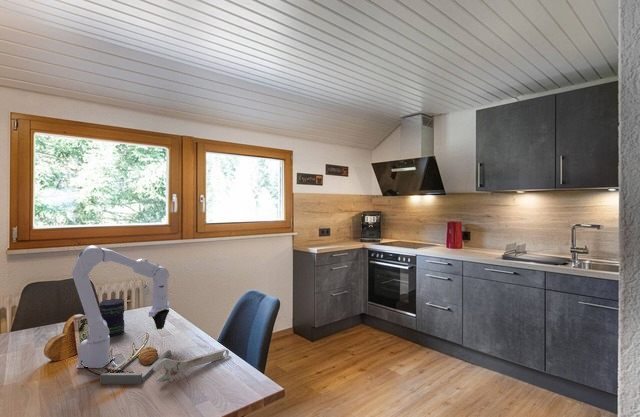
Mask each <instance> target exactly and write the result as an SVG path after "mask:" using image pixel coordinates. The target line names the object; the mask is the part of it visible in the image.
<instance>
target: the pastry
mask: <svg viewBox="0 0 640 417" xmlns="http://www.w3.org/2000/svg"><path fill="white" fill-rule="evenodd" d="M137 357H138V362H140V364H141V365H145V366H147V365H150V364H154V363H155V362H156V361H157V360H158V357H159V354H158V350H157V349H156V348H154V347H152V346H148V347H145V348H143V349H142V350H141V352H140V354H139V356H137Z"/></svg>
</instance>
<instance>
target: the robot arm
mask: <svg viewBox="0 0 640 417" xmlns="http://www.w3.org/2000/svg"><path fill="white" fill-rule="evenodd" d="M101 262H103V263H107V262H114V263H117V264H120V265H123V266H126V267H129V268H132V270H133V273H135V274H138V275H141V276H143V277H147V278H148V279H149V278H152V295H151V296H152V298H151V299H152V305H151V306H152V307H151V308H150V310H149V311H148V317H151V318H152V320H153V321H154V324H155V329H156V330H162V329H164V328H165V324H166V320H167V317H168V314H169V312H170V308H171V301H170V300H169V299H168V298H169V296H168V295H169V292H168V291H169V289H168V288H169V287H168V279H169V278H170V272H169V270H168V269H167V268H165V267H164V266H163V265H160V264H159V263H153V262H151V261H149V259H147V258H139V259H134V258H132V257H128V256H126V255H124V254H122V253H119V252H117V251H115V250H112V249H109V248H105V247H99V246H98V245H94V244H92V245H88V246H85V247H84V248H83V249H82V250H81V251H80V252H79V253H78V256H77V259H76V261H75V263H74V266H73V268H72V270H71V276H72V279H73V281H74V285H75V288H76V291H77V294H78V296H79V301H80V303H81V306H82V308H83V311H84V314H85V317H86V320H87V331H88V338H86V339H84V340H82V341H81V342H80V344H79V346H78V349H77V350H78V352H77V353H78V354H77V356H78V358H77V362H78V365H76V368H78V369H81V368H82V369H85V368H84V367H82V366H81V364H80V363H83V364H84V365H85V366H87V367H88V368H87V369H92V368H93V369H102V368H104V367H106V366H107V365H108V364H109V363H111V362H110V359H109V353H110V352H111V347H110V346H111V345H110V344H111V343H110V342H111V338H110V336H109V328H108V327H107V322H106V321H105V320H104V319H103V318H102V316H101V313H100V310H99V309H100V306H99V305H98V302H97V298H96V295H95V292H94V290H93V286H92V283H91V279H90V278H89V274H90V272H92V269H94V267H96V266H97V265H99V264H100V263H101ZM110 354H111V353H110ZM112 357H113V360H115V359H116V357H115V356H112Z"/></svg>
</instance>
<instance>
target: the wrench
mask: <svg viewBox="0 0 640 417" xmlns="http://www.w3.org/2000/svg"><path fill="white" fill-rule="evenodd" d="M229 353H230V352H229V349H226V348H222V349H219V350H216V351H211V352H208V353H205V354H202V355H198V356H195V357H191V358H188V359H187V358H186V359H184V360H176V359H175V360H174V359H170V358H168V357H167V358H163V359H161V360H159V361H158V362H157V363H156V364H155V365H154V367H153V372H157V371H158V370H160V369H161V368H164V371H163V373H162V374H160V375H158V376H157V377H156V378H155V381H157V382H160V383H162V382H163V383H164V382H167V381H168V382H170V383H171V382H173V381H174V379H175V378H176V376H178V375H179V374H180V373H182V372H183V371H185V370H188V369H190V368H195V367H198V366H201V365H204V364H208V363H212V362H215V361H218V360H222V359H224V358H227V357H228V356H229Z"/></svg>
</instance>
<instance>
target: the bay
mask: <svg viewBox="0 0 640 417" xmlns="http://www.w3.org/2000/svg"><path fill="white" fill-rule="evenodd" d="M171 355H172V350H171V349H169V350H168V349H167V350H166V352H164V353H163V354H162V355H161V356H160V357H159V358H157V360H156V361H155V362H154V363H152V365H150V367H148V368H147V369H146V370H145V371H143V373H142V372H139V373H138V372H128V373H127V372H118V373H110V371H109V372H102V373H101V374H100V375H99V376H100V377H99V384H100V385H141V384H142V383H143V382H144V381H145V380H146V379H147V378H148V377H149V376H151V374H152V373H153V372H154V371H153V367H154V365H155V364H156V363H157V362H158V361H159V360H161V359H163V358H167V359H168V358H169V357H170V356H171ZM131 356H132V354H131V355H129V356H128V357H127V358H125V359H124V360H123V361H122V362H120V363H119V364H118V365H116V366H115V367H114V368H116V369H118V368H120V366H121V365H122V364H124V363H125V362H126V361H127V360H128V359H129V358H130V357H131Z"/></svg>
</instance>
